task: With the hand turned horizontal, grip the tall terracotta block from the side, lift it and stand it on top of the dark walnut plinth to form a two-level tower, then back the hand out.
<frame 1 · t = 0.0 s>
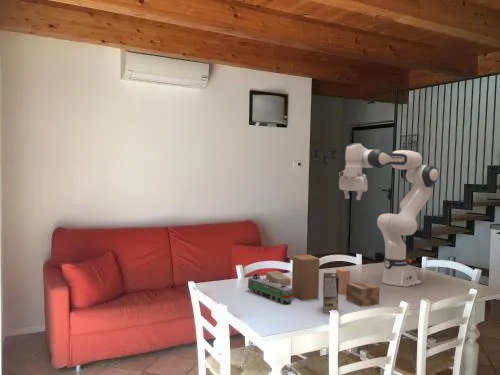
hand: (352, 199, 230), 48 cm above the table, fingers open, 8 cm apart
tower base: (362, 301, 209), on the table
coffee box: (330, 310, 195), on the table
wooden block: (304, 296, 215), on the table
brick: (278, 283, 242), on the table
terracotta block: (342, 292, 223), on the table
toy train: (269, 297, 214), on the table
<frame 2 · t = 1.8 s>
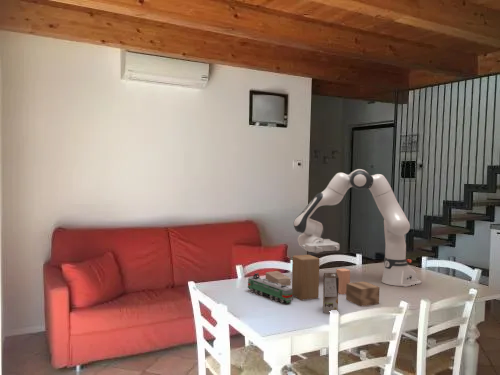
hand: (330, 249, 233), 20 cm above the table, fingers open, 8 cm apart
nothing on the table moved.
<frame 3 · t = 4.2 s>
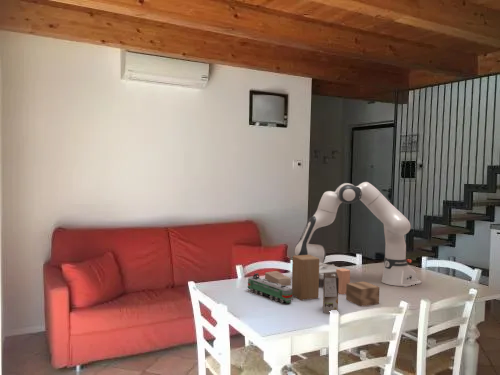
hand: (334, 276, 230), 7 cm above the table, fingers open, 8 cm apart
nothing on the table moved.
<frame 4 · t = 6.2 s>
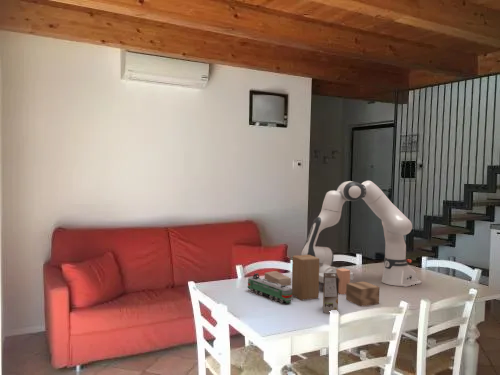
hand: (343, 280, 222), 7 cm above the table, fingers closed on terracotta block, 5 cm apart
terracotta block: (342, 292, 223), on the table, touching gripper
everything else where it was.
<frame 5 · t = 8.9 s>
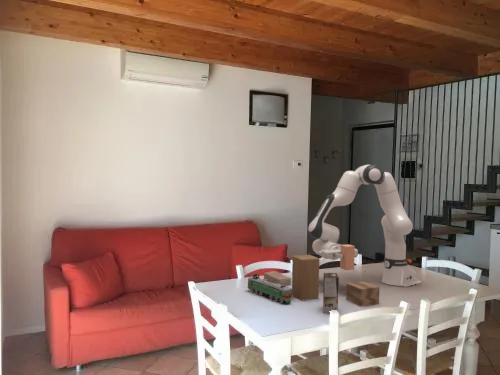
hand: (348, 256, 218), 20 cm above the table, fingers closed on terracotta block, 5 cm apart
terracotta block: (347, 268, 220), point 13 cm above the table, touching gripper
everything else where it was.
when the fingers open (16 cm above the table, at t = 11.4 s): terracotta block drops 1 cm, resting on tower base.
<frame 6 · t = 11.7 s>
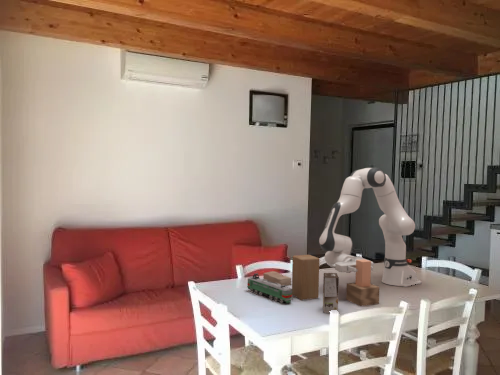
hand: (364, 269, 207), 16 cm above the table, fingers open, 8 cm apart
terracotta block: (362, 285, 208), point 8 cm above the table, touching tower base
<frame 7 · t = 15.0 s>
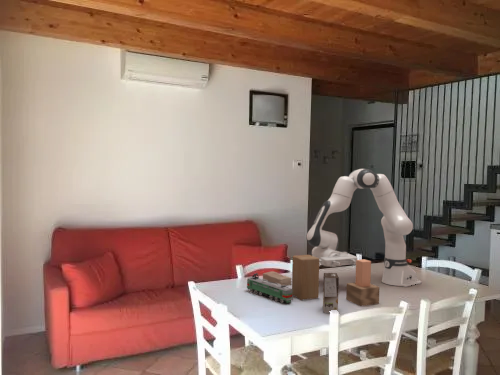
hand: (348, 263, 219), 16 cm above the table, fingers open, 8 cm apart
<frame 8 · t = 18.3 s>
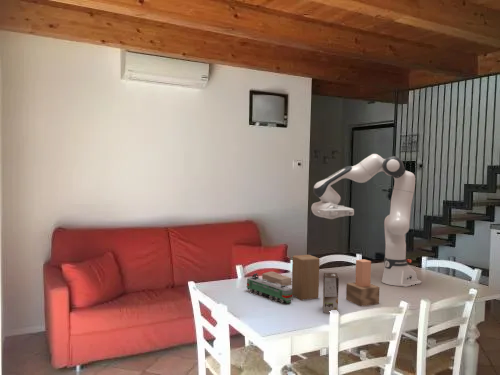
hand: (345, 213, 233), 40 cm above the table, fingers open, 8 cm apart
at the end: terracotta block inside the target area on the tower base (0.0 cm from its centre), point 8.0 cm above the tower base's base; terracotta block tilted 0°; the gripper is holding nothing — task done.
